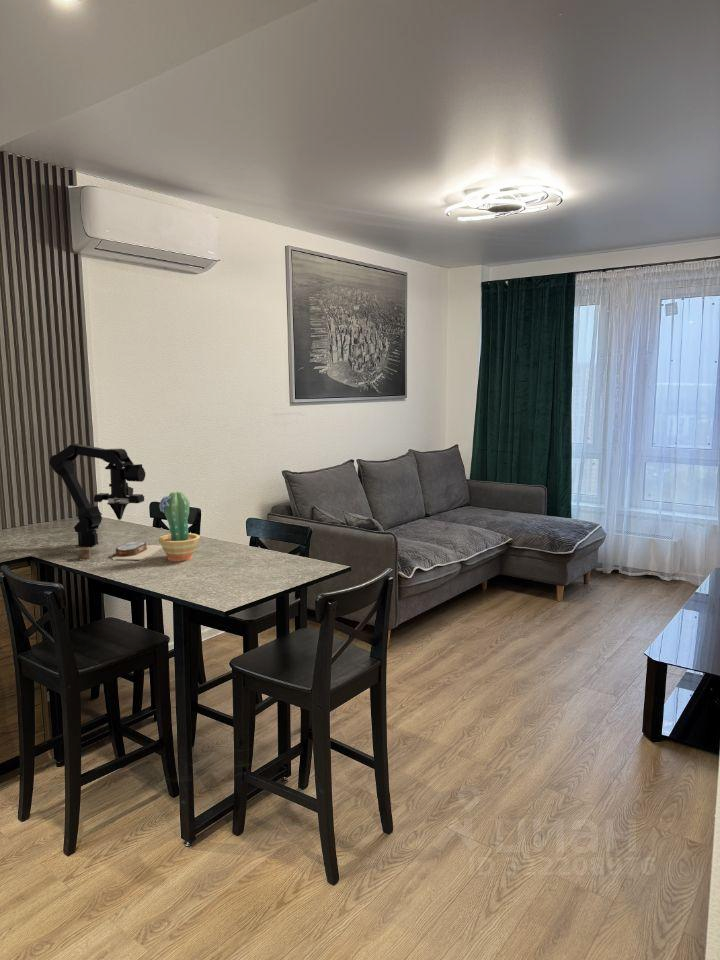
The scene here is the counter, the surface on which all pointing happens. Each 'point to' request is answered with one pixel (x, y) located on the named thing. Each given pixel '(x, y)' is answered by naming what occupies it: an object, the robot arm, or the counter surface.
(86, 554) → the walnut block
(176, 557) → the potted cactus
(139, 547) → the tin
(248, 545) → the counter surface
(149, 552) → the mat
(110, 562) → the counter surface
